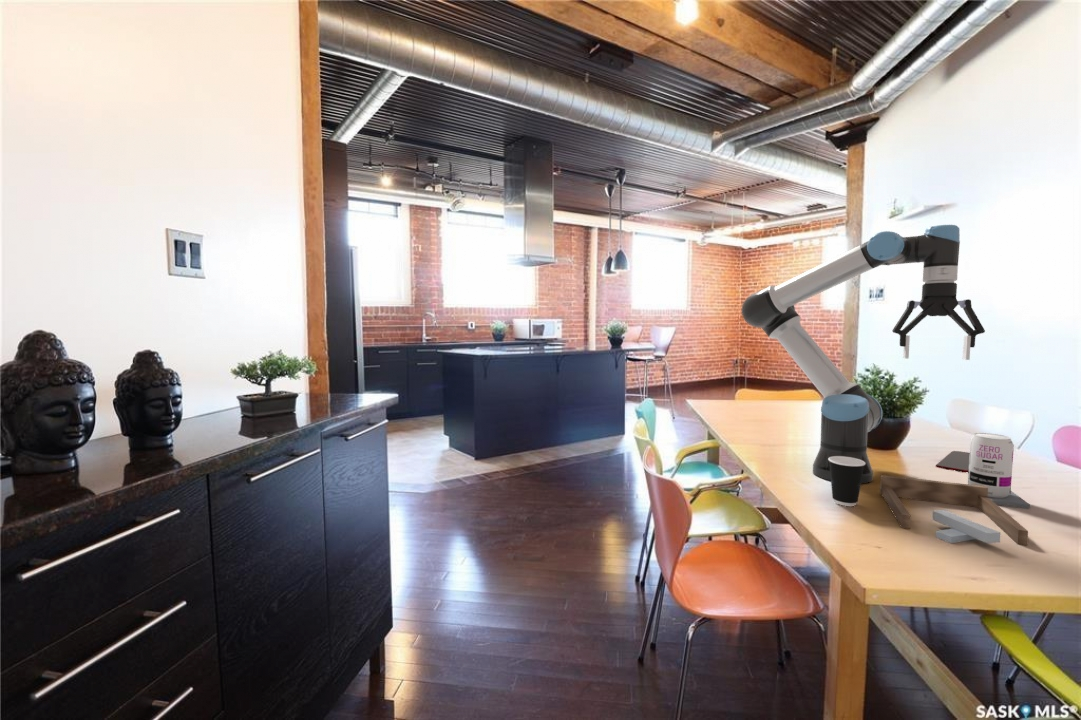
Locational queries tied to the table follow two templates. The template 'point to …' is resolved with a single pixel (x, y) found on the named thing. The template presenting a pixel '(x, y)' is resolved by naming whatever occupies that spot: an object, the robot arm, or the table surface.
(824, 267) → the robot arm
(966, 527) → the offcut upper
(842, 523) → the table surface
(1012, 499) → the pad
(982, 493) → the rack
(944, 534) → the offcut lower
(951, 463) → the smartphone
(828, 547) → the table surface
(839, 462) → the dixie cup
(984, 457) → the supplement can
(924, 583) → the table surface
